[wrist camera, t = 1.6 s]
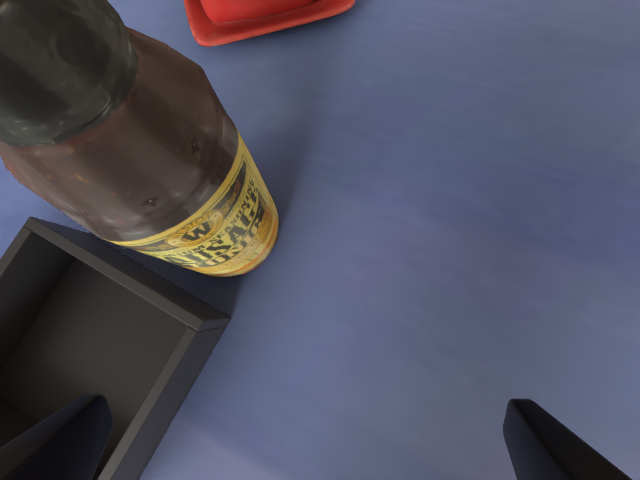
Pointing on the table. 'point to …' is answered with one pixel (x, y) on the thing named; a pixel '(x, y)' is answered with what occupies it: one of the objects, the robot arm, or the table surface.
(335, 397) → the table surface
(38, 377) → the bin
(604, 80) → the table surface
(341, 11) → the butter dish
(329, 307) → the table surface
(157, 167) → the sauce bottle
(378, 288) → the table surface
